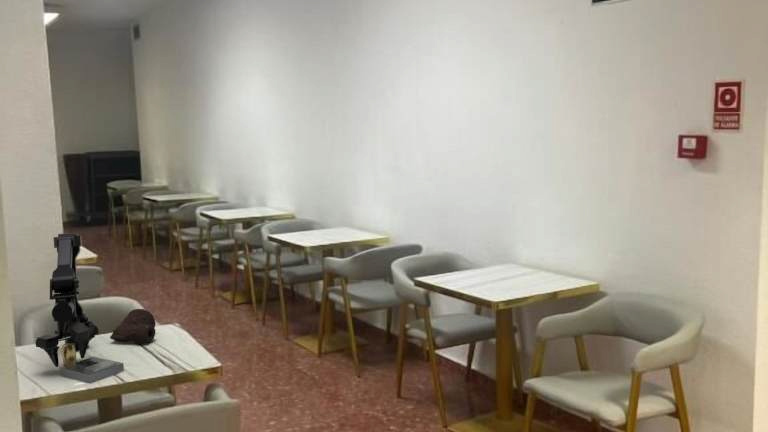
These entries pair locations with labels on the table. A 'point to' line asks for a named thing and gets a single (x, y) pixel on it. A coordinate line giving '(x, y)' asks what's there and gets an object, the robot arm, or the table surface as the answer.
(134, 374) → the table surface
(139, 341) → the dark brown rounded lump
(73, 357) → the tan rectangular block
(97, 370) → the metal square frame
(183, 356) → the table surface
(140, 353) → the table surface
